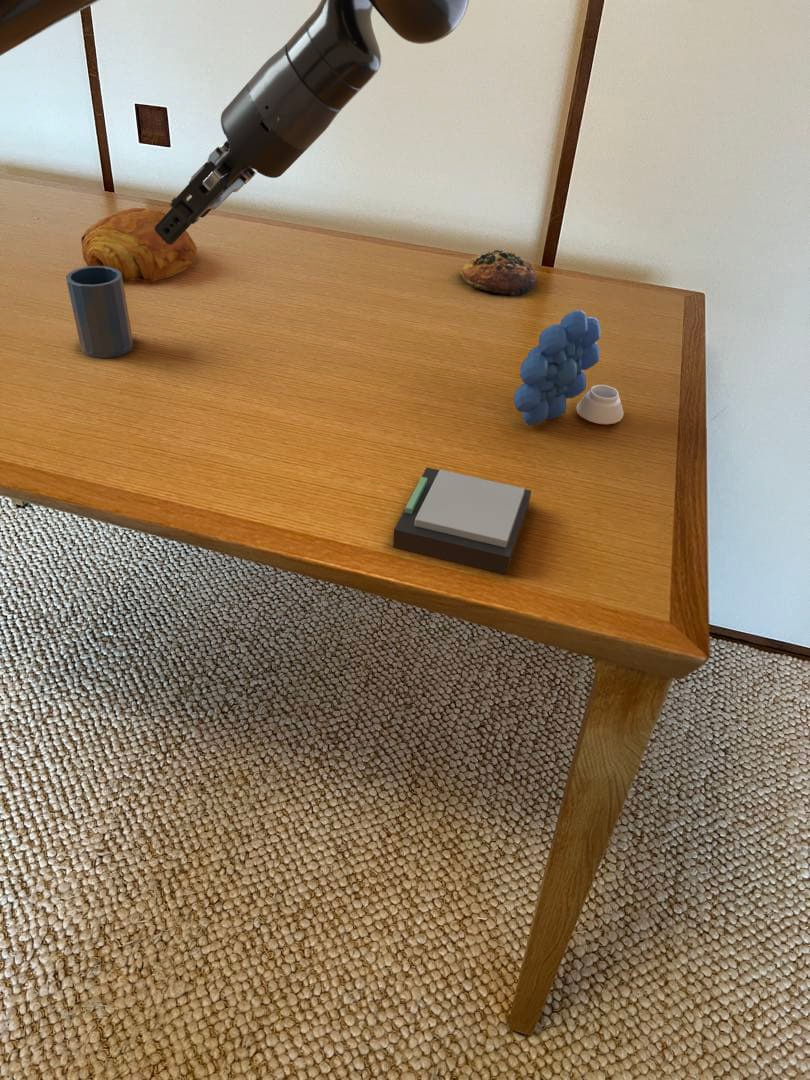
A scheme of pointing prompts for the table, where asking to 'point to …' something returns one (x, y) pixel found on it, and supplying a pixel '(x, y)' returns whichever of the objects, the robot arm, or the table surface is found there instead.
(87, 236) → the croissant
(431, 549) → the scale
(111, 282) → the cup
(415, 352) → the table surface
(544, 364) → the grapes
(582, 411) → the white jar
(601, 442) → the table surface
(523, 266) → the bread roll
